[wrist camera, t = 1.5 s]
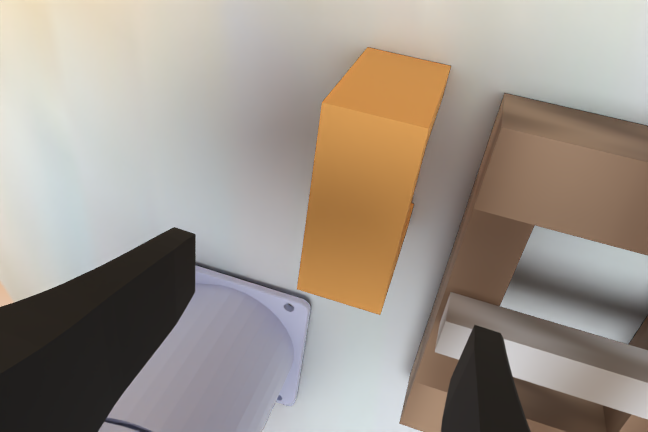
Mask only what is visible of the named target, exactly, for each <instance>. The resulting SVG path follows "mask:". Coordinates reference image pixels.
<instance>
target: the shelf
mask: <svg viewBox="0 0 648 432" xmlns="http://www.w3.org/2000/svg"><path fill="white" fill-rule="evenodd" d="M534 225H536V226H540V227H543V228H547V229H551V230H555V231H558V232H562V233H566V234H570V235H573V236H577V237H581V238H584V239H588V240H592V241H596V242H599V243H603V244H607V245H611V246H614V247H618V248H622V249H625V250H629V251H633V252H637V253H640V254H644V255H648V126H646V125H641V124H637V123H633V122H628V121H624V120H619V119H615V118H611V117H606V116H602V115H598V114H593V113H589V112H585V111H580V110H576V109H572V108H567V107H563V106H559V105H554V104H550V103H546V102H541V101H537V100H532V99H528V98H524V97H519V96H515V95H511V94H506V93H504V96H503V99H502V102H501V105H500V108H499V111H498V114H497V117H496V120H495V123H494V126H493V129H492V132H491V135H490V138H489V141H488V144H487V147H486V150H485V153H484V156H483V159H482V162H481V165H480V168H479V171H478V174H477V177H476V180H475V183H474V186H473V189H472V192H471V195H470V198H469V201H468V204H467V207H466V210H465V213H464V216H463V219H462V222H461V225H460V227H459V230H458V233H457V236H456V239H455V242H454V245H453V248H452V251H451V254H450V257H449V260H448V263H447V266H446V269H445V272H444V275H443V278H442V281H441V284H440V287H439V290H438V293H437V296H436V299H435V302H434V305H433V308H432V311H431V314H430V317H429V320H428V323H427V326H426V329H425V332H424V335H423V338H422V341H421V344H420V347H419V350H418V353H417V356H416V359H415V362H414V365H413V368H412V371H411V374H410V378H409V382H408V387H407V392H406V396H405V401H404V405H403V410H402V414H401V419H400V423H399V424H402V425H405V426H408V427H411V428H414V429H417V430H420V431H423V432H441V425H442V417H443V412H444V407H445V402H446V397H447V393H448V388H449V383H450V379H451V377H452V374H453V372H454V370H455V368H456V365H457V363H458V361H459V359H460V356H461V354H462V352H463V350H464V347H465V345H466V343H467V340H468V338H469V336H470V334H471V331H472V329H473V327H474V325H477V326H480V327H484V328H487V329H490V330H493V331H496V332H499V333H501V335H502V336H503V338H504V343H505V348H506V352H507V357H508V361H509V365H510V369H511V372H512V376H513V379H514V383H515V386H516V390H517V393H518V396H519V399H520V402H521V405H522V408H523V411H524V414H525V417H526V420H527V423H528V426H529V428H530V431H531V432H648V316H647V317H646V319H645V320H644V322H643V324H642V325H641V327H640V328H639V330H638V331H637V333H636V334H635V336H634V337H633V339H632V340H631V342H630V343H629V345H628V344H625V343H621V342H618V341H615V340H611V339H608V338H604V337H601V336H598V335H594V334H591V333H588V332H584V331H581V330H577V329H574V328H571V327H567V326H564V325H561V324H557V323H554V322H550V321H547V320H544V319H540V318H537V317H534V316H530V315H527V314H523V313H520V312H517V311H513V310H510V309H507V308H503V307H500V304H501V302H502V299H503V297H504V295H505V292H506V290H507V288H508V285H509V283H510V281H511V278H512V276H513V274H514V272H515V269H516V267H517V265H518V262H519V260H520V258H521V255H522V253H523V251H524V248H525V246H526V244H527V241H528V239H529V237H530V234H531V232H532V230H533V228H534Z"/></svg>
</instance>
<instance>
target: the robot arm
mask: <svg viewBox="0 0 648 432" xmlns="http://www.w3.org/2000/svg"><path fill="white" fill-rule="evenodd" d="M288 304H291V305H292V306H290V305H288ZM310 310H311V307H310V304H309V303H308V302H307V301H306V300H304V299H302V298H298V297H295V296H292V295H289V294H286V293H282V292H279V291H276V290H273V289H270V288H266V287H263V286H260V285H257V284H254V283H250V282H247V281H244V280H241V279H238V278H234V277H231V276H228V275H225V274H222V273H218V272H215V271H212V270H209V269H206V268H203V267H199V266H196V265H195V234H193V233H190V232H187V231H184V230H181V229H178V228H175V227H174V228H172V229H170V230H168V231H166V232H164V233H162V234H160V235H158V236H157V237H155V238H153V239H151V240H149V241H147V242H145V243H144V244H142V245H140V246H138V247H136V248H134V249H133V250H131V251H129V252H127V253H125V254H123V255H121V256H119V257H117V258H115V259H113V260H112V261H110V262H108V263H106V264H104V265H102V266H100V267H98V268H96V269H94V270H91V271H89V272H87V273H85V274H83V275H81V276H79V277H76V278H74V279H72V280H70V281H68V282H66V283H64V284H61V285H59V286H57V287H54V288H52V289H49V290H47V291H44V292H42V293H39V294H36V295H34V296H31V297H28V298H26V299H23V300H20V301H17V302H15V303H12V304H8V305H5V306H2V307H0V432H262V430H263V428H264V426H265V424H266V422H267V419H268V417H269V415H270V413H271V411H272V409H273V406H274V404H275V402H278V403H281V404H284V405H287V406H291V405H293V404H294V403H295V401H296V398H297V393H298V386H299V380H300V374H301V367H302V361H303V355H304V348H305V342H306V336H307V329H308V323H309V317H310ZM441 432H531V431H530V428H529V426H528V423H527V420H526V417H525V414H524V411H523V408H522V405H521V402H520V399H519V396H518V393H517V390H516V386H515V383H514V379H513V376H512V372H511V369H510V365H509V361H508V357H507V352H506V348H505V343H504V338H503V336H502V335H501V333H499V332H496V331H493V330H490V329H487V328H484V327H480V326H477V325H474V327H473V329H472V331H471V334H470V336H469V338H468V340H467V343H466V345H465V347H464V350H463V352H462V354H461V356H460V359H459V361H458V363H457V365H456V368H455V370H454V372H453V374H452V377H451V379H450V383H449V388H448V393H447V397H446V402H445V407H444V412H443V417H442V425H441Z"/></svg>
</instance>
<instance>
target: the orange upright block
mask: <svg viewBox="0 0 648 432" xmlns="http://www.w3.org/2000/svg"><path fill="white" fill-rule="evenodd" d="M450 68H451V66H449V65H445V64H440V63H436V62H431V61H427V60H422V59H418V58H413V57H409V56H405V55H400V54H396V53H391V52H387V51H382V50H378V49H373V48H369V47H367V49H366V50H365V51H364V52H363V53H362V55H361V56H360V57H359V58H358V59H357V61H356V62H355V63H354V64H353V65H352V67H351V68H350V69H349V70H348V72H347V73H346V74H345V75H344V76H343V78H342V79H341V80H340V81H339V82H338V84H337V85H336V86H335V87H334V88H333V90H332V91H331V92H330V93H329V94H328V96H327V97H326V98H325V99H324V101H323V102H322V106H321V113H320V121H319V128H318V136H317V143H316V151H315V158H314V166H313V173H312V180H311V188H310V195H309V203H308V210H307V218H306V225H305V233H304V240H303V248H302V255H301V262H300V270H299V277H298V285H297V289H298V290H301V291H305V292H308V293H311V294H314V295H317V296H321V297H324V298H327V299H330V300H334V301H337V302H340V303H343V304H347V305H350V306H353V307H356V308H359V309H363V310H366V311H369V312H372V313H376V314H379V315H380V314H381V311H382V308H383V304H384V301H385V298H386V295H387V292H388V289H389V285H390V282H391V279H392V276H393V273H394V270H395V266H396V263H397V260H398V257H399V254H400V251H401V247H402V244H403V241H404V238H405V235H406V232H407V228H408V225H409V221H410V217H411V214H412V210H413V206H414V204H413V203H411V202H412V198H413V194H414V190H415V187H416V183H417V179H418V175H419V171H420V168H421V164H422V160H423V156H424V152H425V149H426V145H427V142H428V139H429V136H430V133H431V130H432V127H433V124H434V121H435V119H436V116H437V113H438V110H439V107H440V104H441V101H442V98H443V94H444V90H445V87H446V83H447V79H448V76H449V72H450Z"/></svg>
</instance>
